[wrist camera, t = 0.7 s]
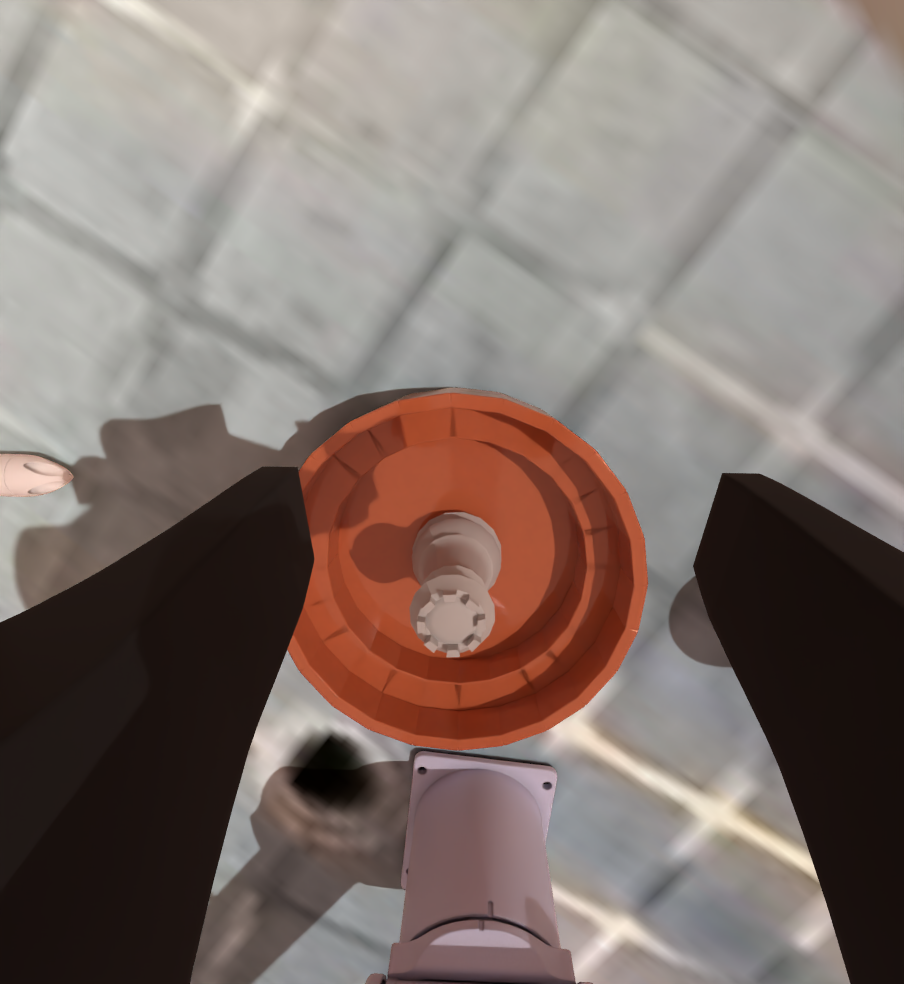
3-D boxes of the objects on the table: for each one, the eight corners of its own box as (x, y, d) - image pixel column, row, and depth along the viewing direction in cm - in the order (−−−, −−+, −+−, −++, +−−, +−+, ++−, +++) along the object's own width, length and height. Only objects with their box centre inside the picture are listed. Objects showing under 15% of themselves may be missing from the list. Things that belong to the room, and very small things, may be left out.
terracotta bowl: (588, 705, 30) (609, 769, 25) (294, 670, 30) (261, 727, 25) (645, 408, 26) (683, 418, 21) (308, 369, 26) (272, 371, 22)
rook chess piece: (395, 542, 28) (365, 613, 20) (466, 491, 27) (464, 544, 19) (448, 608, 28) (439, 702, 21) (519, 560, 28) (537, 639, 20)
